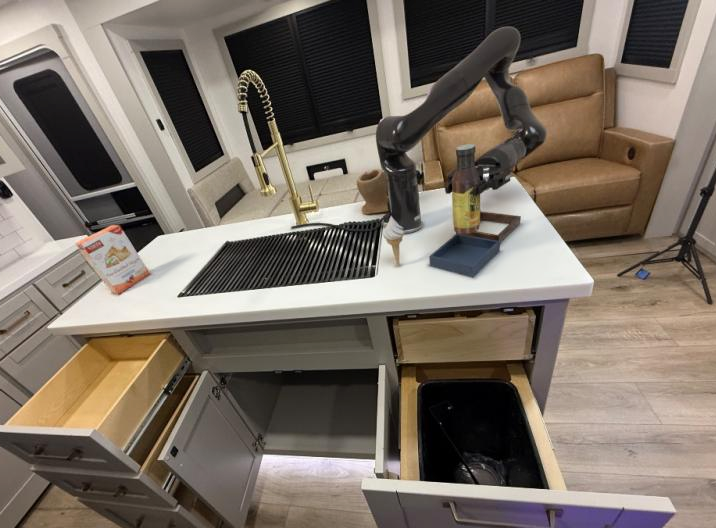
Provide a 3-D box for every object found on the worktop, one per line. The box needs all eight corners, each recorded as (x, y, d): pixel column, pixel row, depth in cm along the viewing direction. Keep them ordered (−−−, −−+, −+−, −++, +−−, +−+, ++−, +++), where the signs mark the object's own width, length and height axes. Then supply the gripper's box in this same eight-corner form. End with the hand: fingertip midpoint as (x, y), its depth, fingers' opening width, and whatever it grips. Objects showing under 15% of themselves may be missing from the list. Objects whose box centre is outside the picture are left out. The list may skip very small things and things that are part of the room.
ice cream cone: (396, 258, 97) (388, 209, 89) (412, 262, 94) (406, 212, 85) (384, 268, 95) (375, 218, 86) (400, 273, 91) (393, 221, 82)
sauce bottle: (475, 236, 81) (474, 151, 70) (449, 234, 85) (445, 153, 74) (483, 224, 85) (484, 140, 74) (459, 222, 89) (456, 143, 77)
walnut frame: (455, 237, 99) (455, 229, 98) (478, 218, 105) (478, 210, 104) (498, 244, 91) (499, 236, 89) (520, 224, 96) (521, 216, 95)
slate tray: (429, 266, 90) (429, 256, 89) (456, 243, 96) (456, 233, 95) (473, 277, 82) (473, 266, 80) (499, 251, 88) (500, 241, 86)
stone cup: (358, 219, 126) (349, 179, 118) (366, 206, 135) (359, 168, 126) (398, 216, 120) (392, 173, 112) (404, 202, 129) (399, 162, 120)
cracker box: (119, 295, 123) (81, 244, 111) (111, 292, 126) (73, 243, 114) (151, 273, 132) (119, 224, 120) (143, 272, 135) (111, 224, 123)
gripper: (524, 180, 83) (490, 209, 75) (468, 177, 92) (433, 203, 85) (526, 148, 78) (491, 176, 71) (468, 148, 88) (431, 173, 80)
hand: (460, 190), depth 78 cm, fingers closed on sauce bottle, 6 cm apart
